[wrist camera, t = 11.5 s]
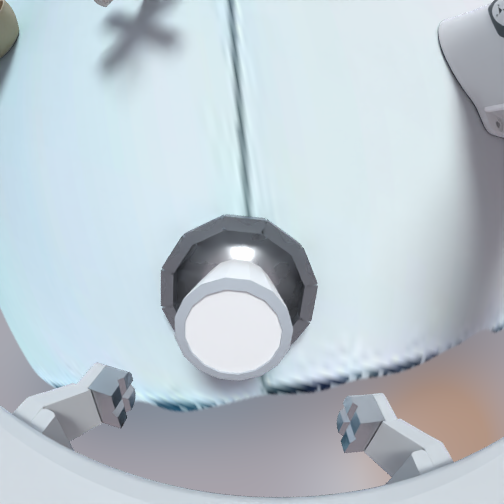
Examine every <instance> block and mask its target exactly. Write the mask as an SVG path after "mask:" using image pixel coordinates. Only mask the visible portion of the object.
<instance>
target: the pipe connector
mask: <svg viewBox="0 0 504 504" xmlns="http://www.w3.org/2000/svg"><path fill="white" fill-rule="evenodd" d="M94 1H95V2H96V3H97V4H99V5H101V6H103V7H107V6H108V5H109V4H110V3H111V2H112V1H113V0H94Z"/></svg>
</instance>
